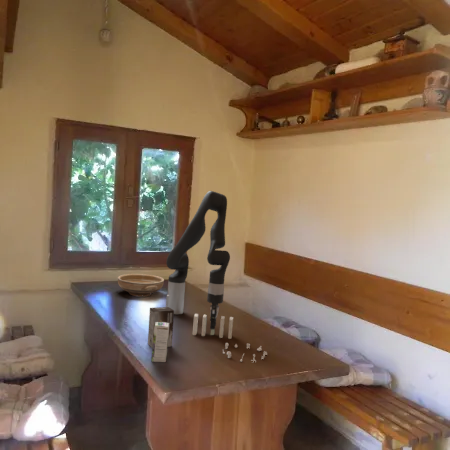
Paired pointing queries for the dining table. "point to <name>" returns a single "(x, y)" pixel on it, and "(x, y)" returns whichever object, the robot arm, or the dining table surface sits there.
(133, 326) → the dining table surface
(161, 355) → the syrup box
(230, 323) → the domino
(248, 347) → the game piece set
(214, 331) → the domino
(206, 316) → the domino
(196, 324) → the domino
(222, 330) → the domino
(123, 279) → the ceramic bowl
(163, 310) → the coffee box
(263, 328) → the dining table surface
